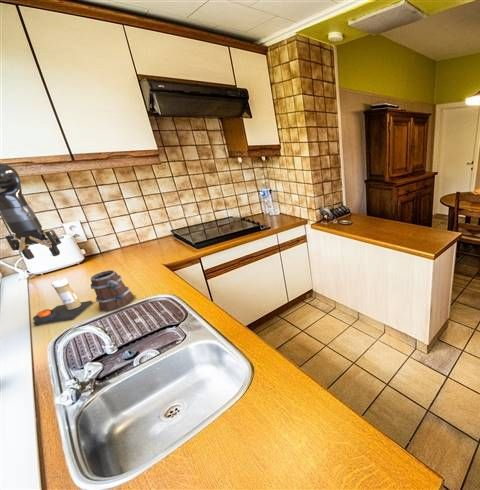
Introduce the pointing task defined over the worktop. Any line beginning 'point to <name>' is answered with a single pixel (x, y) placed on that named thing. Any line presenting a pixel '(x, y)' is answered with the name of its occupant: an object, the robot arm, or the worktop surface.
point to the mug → (110, 290)
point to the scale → (61, 314)
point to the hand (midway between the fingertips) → (44, 257)
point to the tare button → (44, 313)
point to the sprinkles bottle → (66, 294)
